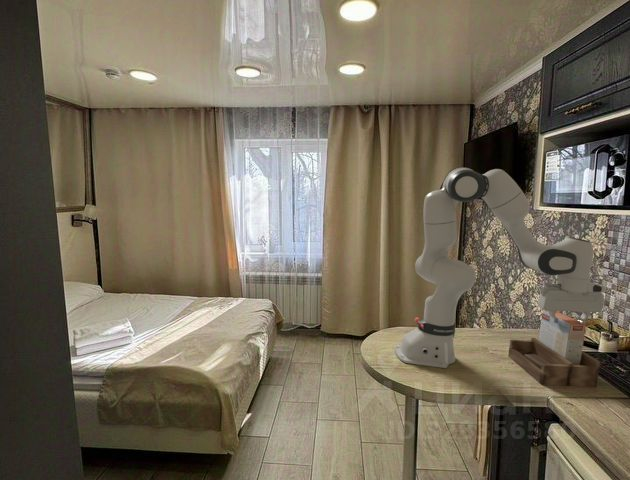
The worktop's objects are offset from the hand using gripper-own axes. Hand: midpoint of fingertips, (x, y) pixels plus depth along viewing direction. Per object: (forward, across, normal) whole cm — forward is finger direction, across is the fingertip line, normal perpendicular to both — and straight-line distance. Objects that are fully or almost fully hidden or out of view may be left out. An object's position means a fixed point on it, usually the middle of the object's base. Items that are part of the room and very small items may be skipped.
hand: (567, 322), depth 120 cm
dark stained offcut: (+16, -9, 0) cm, 18 cm away
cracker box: (+19, -1, +1) cm, 19 cm away
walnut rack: (+19, -4, 0) cm, 20 cm away
